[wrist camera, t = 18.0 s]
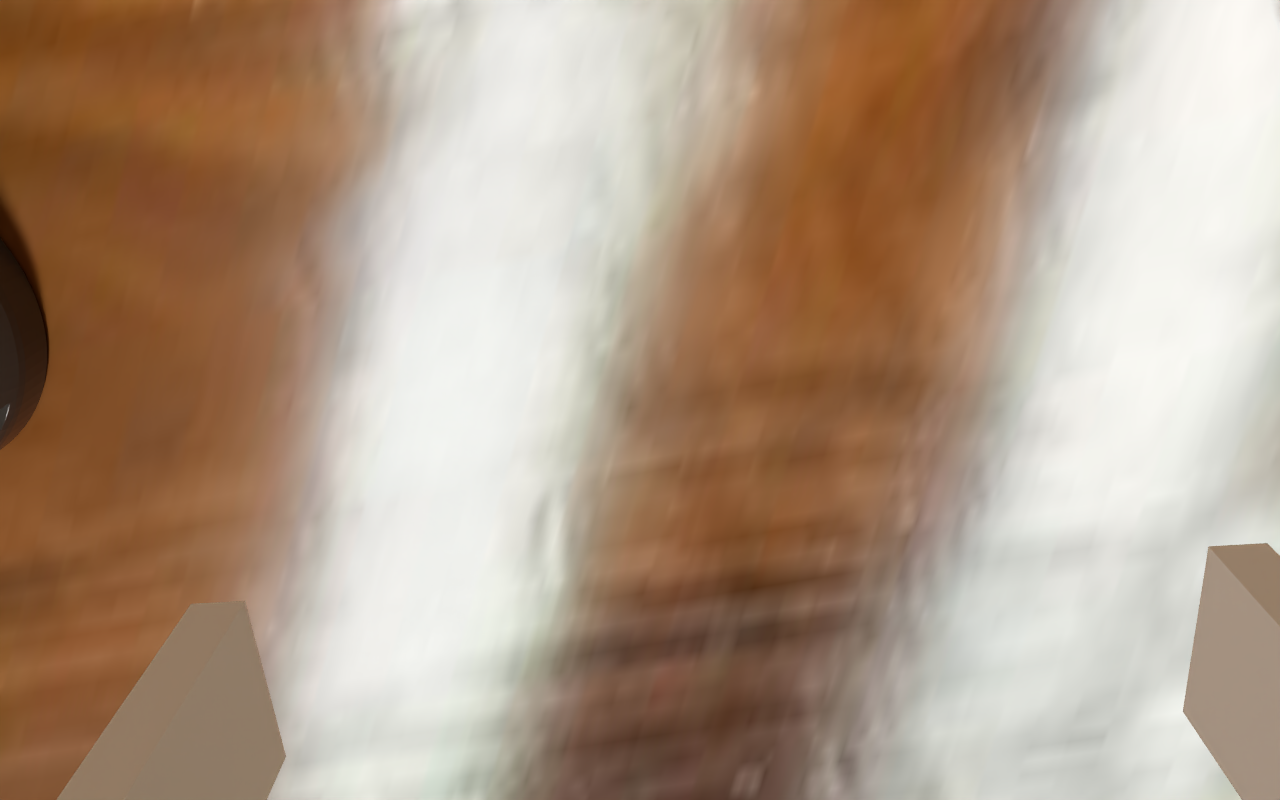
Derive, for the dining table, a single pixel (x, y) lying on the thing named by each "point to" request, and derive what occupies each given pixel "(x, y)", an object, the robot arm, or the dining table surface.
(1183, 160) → the dining table surface
